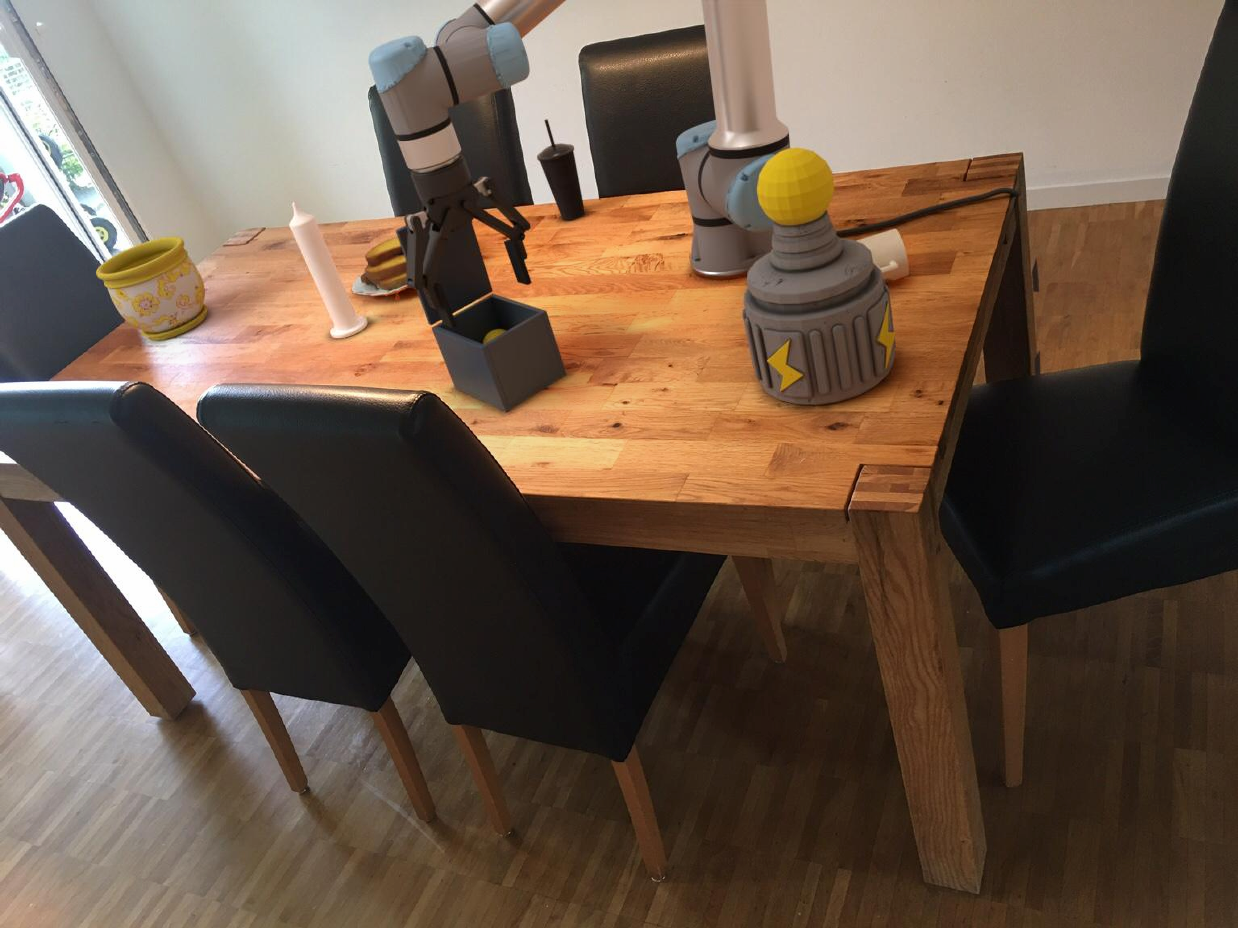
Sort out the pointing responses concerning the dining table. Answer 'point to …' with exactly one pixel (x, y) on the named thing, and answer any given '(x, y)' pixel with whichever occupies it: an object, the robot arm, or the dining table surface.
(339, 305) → the candle
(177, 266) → the flowerpot
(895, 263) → the character mug
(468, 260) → the lid
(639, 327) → the dining table surface
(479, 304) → the box
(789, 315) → the decorative lamp
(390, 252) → the food on plate
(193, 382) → the dining table surface
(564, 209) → the drinking cup
